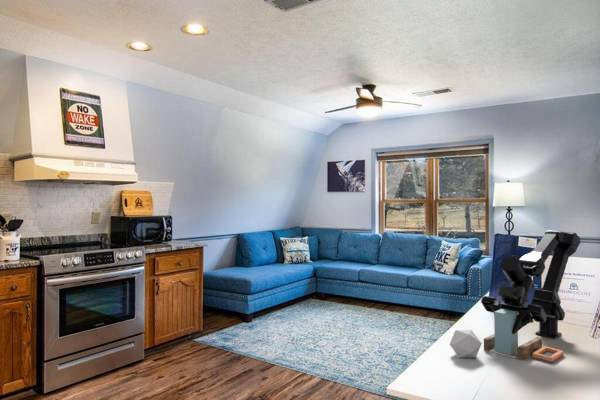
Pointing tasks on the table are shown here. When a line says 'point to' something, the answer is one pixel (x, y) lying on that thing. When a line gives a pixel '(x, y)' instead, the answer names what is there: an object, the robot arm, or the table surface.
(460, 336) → the die
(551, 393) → the table surface
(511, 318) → the block
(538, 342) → the channel
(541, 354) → the frame
